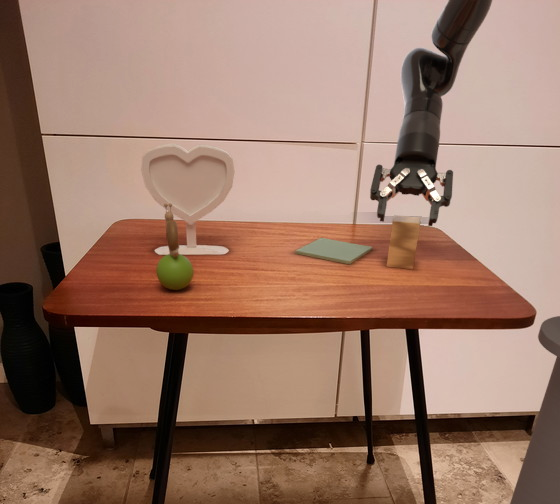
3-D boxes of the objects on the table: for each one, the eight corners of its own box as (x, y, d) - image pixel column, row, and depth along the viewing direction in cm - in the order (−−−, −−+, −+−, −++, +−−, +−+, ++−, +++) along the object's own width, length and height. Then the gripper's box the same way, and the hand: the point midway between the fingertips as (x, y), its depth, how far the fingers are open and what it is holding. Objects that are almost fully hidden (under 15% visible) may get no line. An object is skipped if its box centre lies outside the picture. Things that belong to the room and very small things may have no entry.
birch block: (413, 261, 99) (420, 217, 95) (412, 269, 95) (420, 223, 91) (388, 259, 100) (394, 215, 96) (386, 266, 96) (392, 220, 92)
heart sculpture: (147, 254, 97) (138, 146, 88) (149, 246, 102) (141, 142, 93) (235, 254, 99) (234, 148, 91) (233, 246, 104) (232, 144, 95)
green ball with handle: (189, 279, 87) (186, 202, 81) (196, 293, 81) (193, 212, 76) (155, 282, 85) (148, 203, 79) (160, 296, 80) (153, 213, 74)
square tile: (372, 250, 105) (372, 246, 104) (349, 264, 96) (350, 261, 96) (321, 240, 109) (321, 237, 109) (295, 253, 101) (295, 250, 101)
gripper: (379, 127, 99) (366, 205, 94) (461, 132, 96) (450, 213, 92) (378, 155, 106) (365, 228, 102) (454, 160, 103) (444, 236, 99)
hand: (406, 221), depth 97 cm, fingers open, 8 cm apart
